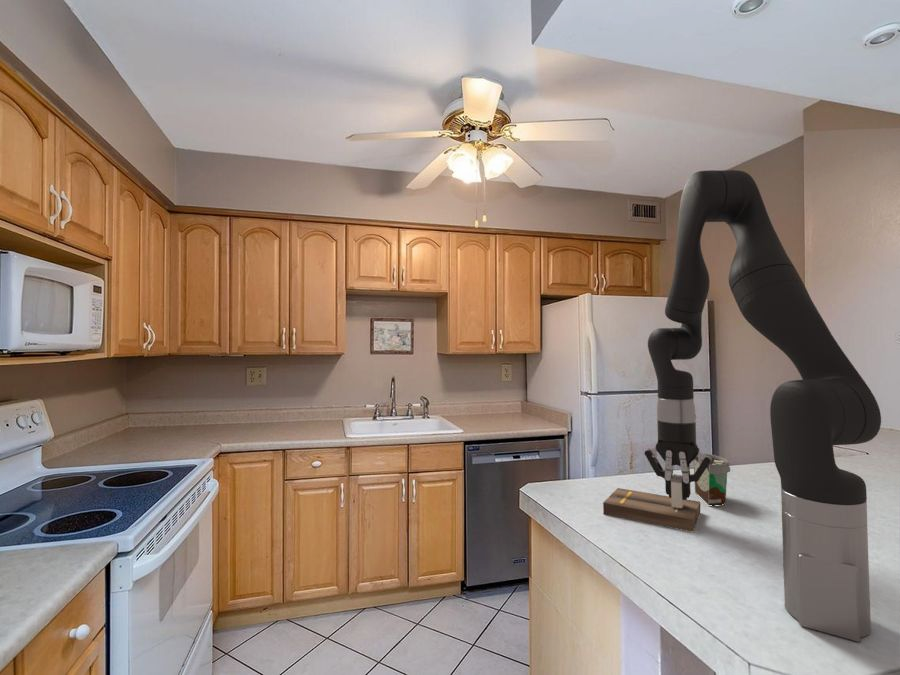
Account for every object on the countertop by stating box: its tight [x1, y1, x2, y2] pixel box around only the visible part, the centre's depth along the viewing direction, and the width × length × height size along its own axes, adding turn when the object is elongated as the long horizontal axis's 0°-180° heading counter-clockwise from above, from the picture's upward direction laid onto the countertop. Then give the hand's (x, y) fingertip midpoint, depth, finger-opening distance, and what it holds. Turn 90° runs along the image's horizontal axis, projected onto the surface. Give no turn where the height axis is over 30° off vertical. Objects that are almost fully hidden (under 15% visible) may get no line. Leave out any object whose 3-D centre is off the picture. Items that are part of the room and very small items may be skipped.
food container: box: [692, 452, 731, 507], centre depth 108 cm, size 12×6×10 cm, turn 168°
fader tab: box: [671, 473, 685, 508], centre depth 97 cm, size 4×2×6 cm, turn 144°
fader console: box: [602, 487, 701, 532], centre depth 100 cm, size 12×18×3 cm, turn 54°
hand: (678, 497), depth 97 cm, fingers closed on fader tab, 2 cm apart
